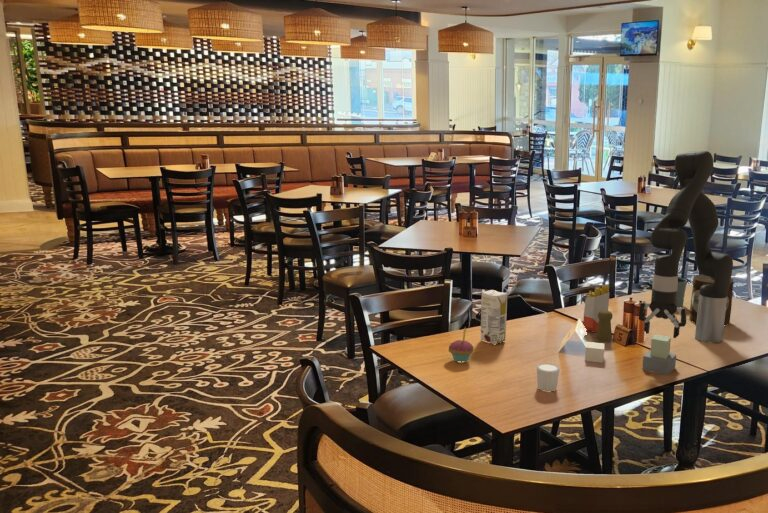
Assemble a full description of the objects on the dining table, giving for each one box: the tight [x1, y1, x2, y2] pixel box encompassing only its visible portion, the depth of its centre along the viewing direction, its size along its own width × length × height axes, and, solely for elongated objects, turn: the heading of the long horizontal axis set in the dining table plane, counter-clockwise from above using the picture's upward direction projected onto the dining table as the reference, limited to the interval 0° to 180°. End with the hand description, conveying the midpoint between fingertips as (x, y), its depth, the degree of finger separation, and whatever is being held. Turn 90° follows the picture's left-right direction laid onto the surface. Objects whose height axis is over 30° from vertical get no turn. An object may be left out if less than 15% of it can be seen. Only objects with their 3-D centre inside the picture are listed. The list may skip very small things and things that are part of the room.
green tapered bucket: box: [676, 277, 688, 308], centre depth 283 cm, size 10×10×12 cm
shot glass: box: [536, 363, 560, 392], centre depth 198 cm, size 7×7×7 cm
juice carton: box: [480, 289, 508, 345], centre depth 238 cm, size 8×9×19 cm
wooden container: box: [688, 274, 734, 326], centre depth 259 cm, size 15×15×22 cm
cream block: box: [584, 341, 605, 364], centre depth 222 cm, size 6×6×5 cm
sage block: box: [650, 334, 672, 359], centre depth 212 cm, size 5×5×6 cm
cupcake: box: [448, 326, 474, 362], centre depth 220 cm, size 9×8×12 cm
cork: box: [594, 310, 613, 343], centre depth 241 cm, size 6×6×11 cm
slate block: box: [641, 349, 677, 376], centre depth 213 cm, size 8×8×5 cm
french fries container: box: [582, 285, 610, 334], centre depth 251 cm, size 5×11×18 cm, turn 131°
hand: (660, 335), depth 211 cm, fingers open, 8 cm apart
